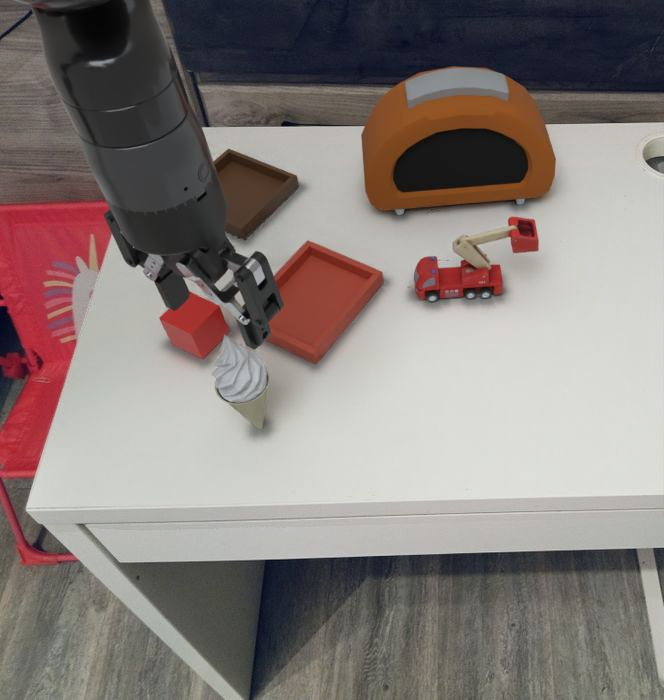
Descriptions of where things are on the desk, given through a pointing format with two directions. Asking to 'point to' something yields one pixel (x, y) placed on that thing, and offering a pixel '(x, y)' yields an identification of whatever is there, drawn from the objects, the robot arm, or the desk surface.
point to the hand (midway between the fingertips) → (218, 321)
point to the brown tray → (251, 190)
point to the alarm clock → (455, 142)
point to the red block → (195, 325)
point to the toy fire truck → (473, 264)
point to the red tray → (319, 299)
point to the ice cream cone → (242, 380)
